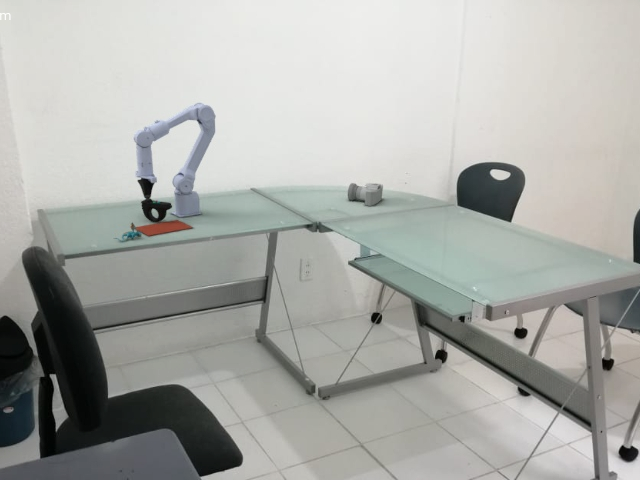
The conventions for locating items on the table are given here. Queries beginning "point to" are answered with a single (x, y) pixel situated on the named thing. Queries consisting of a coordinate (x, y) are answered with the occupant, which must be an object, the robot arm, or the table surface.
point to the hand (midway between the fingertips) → (147, 197)
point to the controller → (157, 205)
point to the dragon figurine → (131, 233)
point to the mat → (163, 228)
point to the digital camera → (366, 193)
